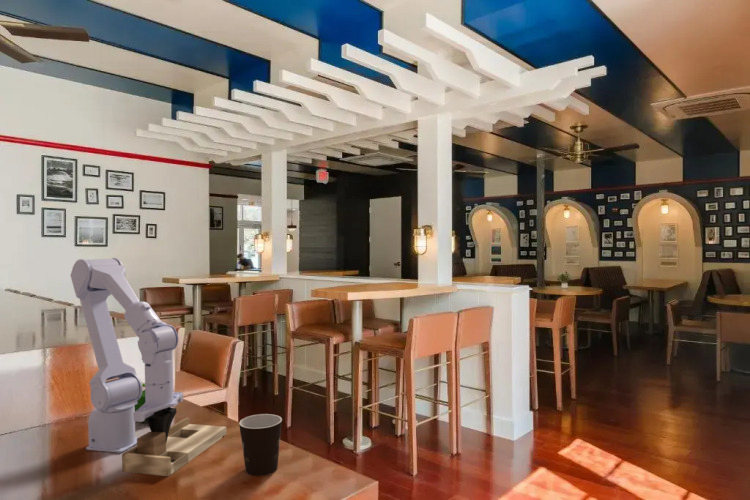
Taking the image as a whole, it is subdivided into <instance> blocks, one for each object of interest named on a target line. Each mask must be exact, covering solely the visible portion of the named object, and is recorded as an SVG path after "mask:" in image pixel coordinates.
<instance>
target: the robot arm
mask: <svg viewBox="0 0 750 500" xmlns="http://www.w3.org/2000/svg"><path fill="white" fill-rule="evenodd" d="M126 273H127V271H126V267H125V266H124V265H123V263H122V261H121V260H120V259H119V258H118V257H117V258H116V257H112V258H100V259H99V258H96V259H83V258H82V259H81V258H80V259H77V260H76V261H75V262H74V264H73V266H72V269H71V273H70V277H71V282H72V286H73V290H74V293H75V294H74V295H75V297H76V298H77V299H79V302H80V305H81V310H82V314H83V317H84V320H85V325H86V328H87V332H88V336H89V339H90V343H91V346H92V350H93V353H94V356H95V361H96V364H97V367H98V370H97V371H96V373H95V374H94V375H93V376H92V377H91V379H90V380H89V387H90V401H91V404H92V406H93V407H94V409H93V410H92V411H91V413H90V414H89V417H88V423H87V424H88V426H87V427H88V446H86V448H85V450H86V451H98V452H106V453H108V452H109V453H117V454H118V453H119V454H121V453H124V452H125V451H128V450H130V449H132V448H133V447H135V446H137V438H139V437H140V436H138V437H137V436H136V423H137V422H139V423H144V422H143V421H144V420H145V421H146V422H145V423H146V424H147V426H148V427H149V431H150V432H164V433H165V434H166V442H167V438H168V433H169V429H170V427H171V426H172V423H173V421H174V418H175V416H176V414H177V412H178V411H177V408H176V406H177V405H179V403H181V402H183V401H184V392H178V391H175V392H174V355H173V354H174V353H173V352H174V350H175V349H176V348H177V347H178V345H179V334H178V332H177V330H176V328H175V326H174V325H172V324H169V323H168V324H167V323H166V322H164V321H162V320H161V319H160V317H159V316H158V315H157V313H156V312H155V311H154V309H153V308H152V306H151V305H150V304H149V303H148V302H146V301H140V300H139V298H138V296H137V293H136V292H135V291H134V289H133V288H132V287H131V285H130V283H129V282H128V280H127V279H126ZM111 295H112V297H113V298H114V299H115V300H116V301H117V302H118V304H119V305H121V307H122V308H123V309H124V310H125V312H124V315H123V318H124V319H125V322H126V323H128V325H129V326H130V328H131V329H132V331H133V332H134V334H135V335H136V337H138V340H137V347H138V350H139V352H140V354H141V360H142V363H143V364H144V383H145V387H144V388H143V386H142V383H143V382H142V381H141V379H140V377H139V376H138V375H137V372H136V369H135V367H133V366H131V365H129V364H127V363H125V362H124V360H123V357H122V354H121V349H120V346H119V343H118V340H117V336H116V331H115V328H114V324H113V321H112V318H111V314H110V310H109V307H108V304H107V299H108V298H109V296H111ZM143 390H145V403H144V404H143V405H142V406H141V407H140V408H139V409H138V410H137V411H135V405H136V404H138V402H137V400H138V399H140V397H141V395H142V391H143Z"/></svg>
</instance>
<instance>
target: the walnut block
mask: <svg viewBox="0 0 750 500" xmlns="http://www.w3.org/2000/svg"><path fill="white" fill-rule="evenodd" d="M138 437H139V438H137V444H136V446H137V453H138V454H145V455H155V456H159V455H161V454H162V453H164V452H166V434H165V433H164V432H151V431H147V433H144V434H143V435H141V436H138Z"/></svg>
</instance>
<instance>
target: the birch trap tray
mask: <svg viewBox="0 0 750 500" xmlns="http://www.w3.org/2000/svg"><path fill="white" fill-rule="evenodd" d="M190 419H191V418H190V417H185V418H183V419H181V420H179V421H178V422H176V423H174V424H171V426H170V429H169V433H168V438H167V442H166V452H164V453H162V454H161V455H159V456H155V455H145V454H138V453H137V445H135V446H133V447H131V448H129V449H128V450H126V452H125V451H124V452H122V454H121V465H122V466H121V467H122V468H121V470H122V472H124V473H134V474H141V475H151V476H162V477H170V476H171V475H172V474H173V473H175V472H176V471H178V470H179V469H181V468H182V467H184V466H185V465H186V464H188V463H189V462H191V461H192V460H193V459H195V458H197V457H198V456H199V455H201V454H202V453H203V452H205V451H206V450H207V449H209V448H210V447H211V446H213V445H215V443H217V442H219V441H220V440H222V439H223V438H224V437H225V436H227V426H220V425H209V424H208V425H206V424H194V423H193V424H192V423H190ZM224 435H225V436H224ZM223 436H224V437H223ZM222 437H223V438H222Z"/></svg>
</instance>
